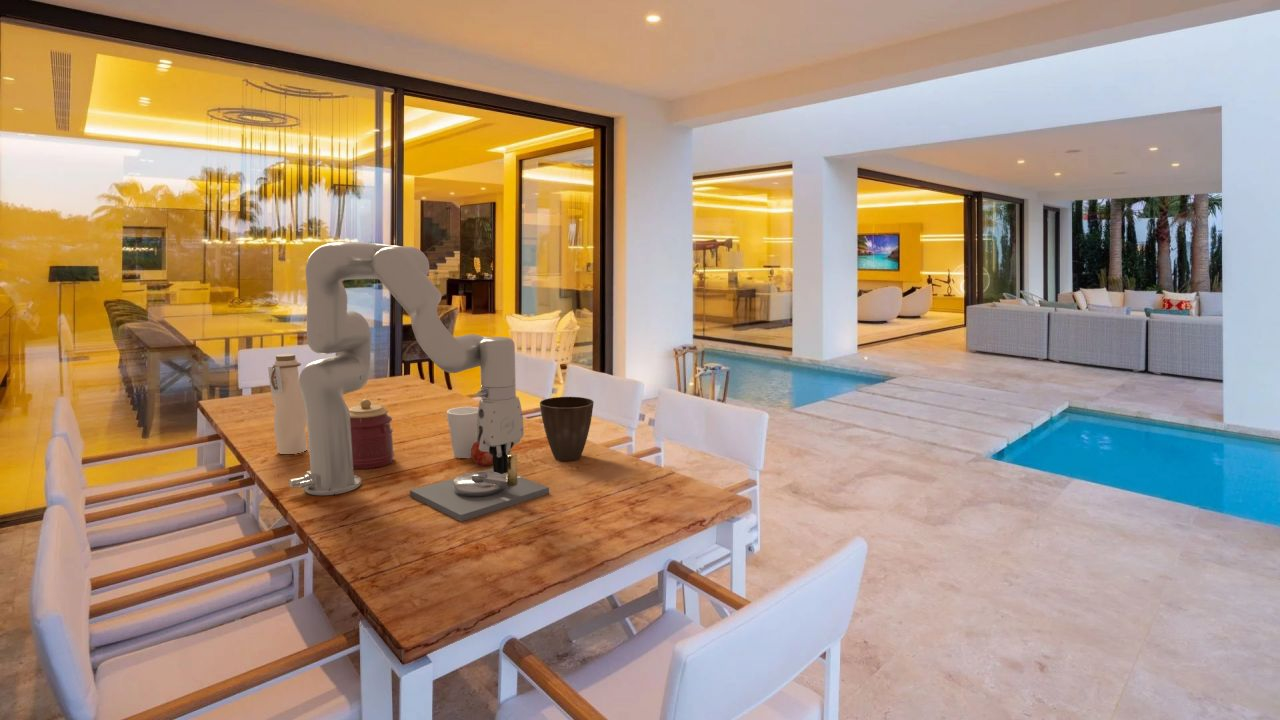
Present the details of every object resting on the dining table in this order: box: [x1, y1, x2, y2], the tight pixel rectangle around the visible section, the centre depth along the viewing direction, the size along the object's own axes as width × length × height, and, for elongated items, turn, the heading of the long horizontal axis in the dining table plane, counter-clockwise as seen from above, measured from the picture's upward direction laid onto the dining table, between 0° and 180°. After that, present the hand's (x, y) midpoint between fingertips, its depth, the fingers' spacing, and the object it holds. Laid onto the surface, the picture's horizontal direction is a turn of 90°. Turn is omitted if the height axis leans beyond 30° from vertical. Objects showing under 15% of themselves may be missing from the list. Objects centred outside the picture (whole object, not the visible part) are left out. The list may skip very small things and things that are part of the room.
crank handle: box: [453, 453, 518, 497], centre depth 159 cm, size 16×12×9 cm
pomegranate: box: [471, 441, 493, 467], centre depth 183 cm, size 7×7×10 cm
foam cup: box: [446, 406, 478, 459], centre depth 191 cm, size 10×9×13 cm
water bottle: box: [267, 353, 309, 455], centre depth 192 cm, size 10×9×28 cm
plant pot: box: [539, 396, 595, 462], centre depth 189 cm, size 15×15×16 cm
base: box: [409, 467, 550, 522], centre depth 160 cm, size 24×22×2 cm
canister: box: [348, 398, 395, 470], centre depth 183 cm, size 13×13×18 cm
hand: (500, 471), depth 153 cm, fingers closed
